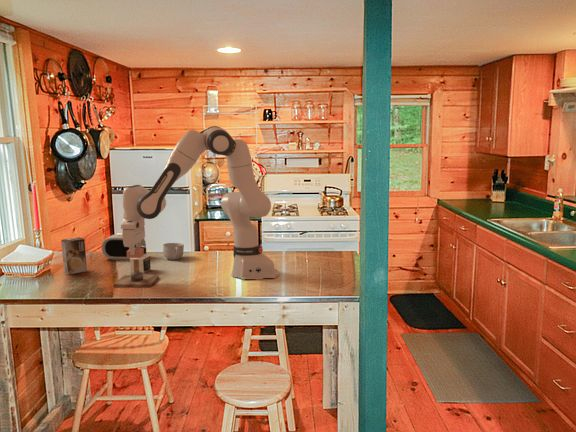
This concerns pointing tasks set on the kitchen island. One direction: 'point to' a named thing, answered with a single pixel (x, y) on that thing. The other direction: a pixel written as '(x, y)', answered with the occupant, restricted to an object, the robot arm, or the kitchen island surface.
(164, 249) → the teacup
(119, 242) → the alarm clock
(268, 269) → the robot arm
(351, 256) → the kitchen island surface
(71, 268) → the coffee box
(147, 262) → the medicine bottle
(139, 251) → the ring
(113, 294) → the kitchen island surface
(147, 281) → the toggle switch plate
